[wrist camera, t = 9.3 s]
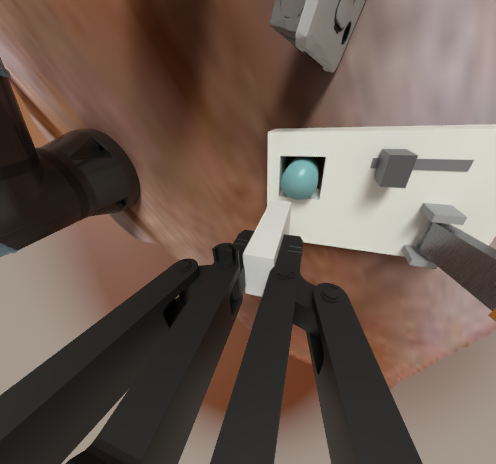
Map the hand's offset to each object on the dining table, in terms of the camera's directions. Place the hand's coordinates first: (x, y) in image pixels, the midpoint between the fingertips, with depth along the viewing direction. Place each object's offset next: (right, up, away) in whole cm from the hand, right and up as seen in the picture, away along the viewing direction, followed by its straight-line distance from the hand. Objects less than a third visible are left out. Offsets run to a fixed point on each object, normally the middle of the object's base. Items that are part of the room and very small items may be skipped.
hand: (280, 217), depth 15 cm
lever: (+17, -1, +6) cm, 18 cm away
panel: (+13, +5, +10) cm, 17 cm away
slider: (+12, +6, +5) cm, 14 cm away
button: (+5, +7, +11) cm, 14 cm away
